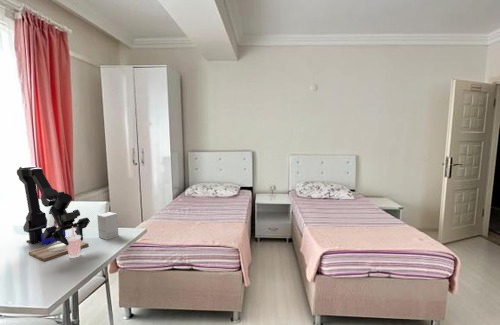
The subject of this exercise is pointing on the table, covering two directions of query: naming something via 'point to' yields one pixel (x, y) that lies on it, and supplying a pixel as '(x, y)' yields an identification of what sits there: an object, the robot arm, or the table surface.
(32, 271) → the table surface
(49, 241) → the cable clip
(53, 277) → the table surface
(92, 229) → the table surface
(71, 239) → the beverage cup
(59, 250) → the board
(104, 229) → the supplement box
